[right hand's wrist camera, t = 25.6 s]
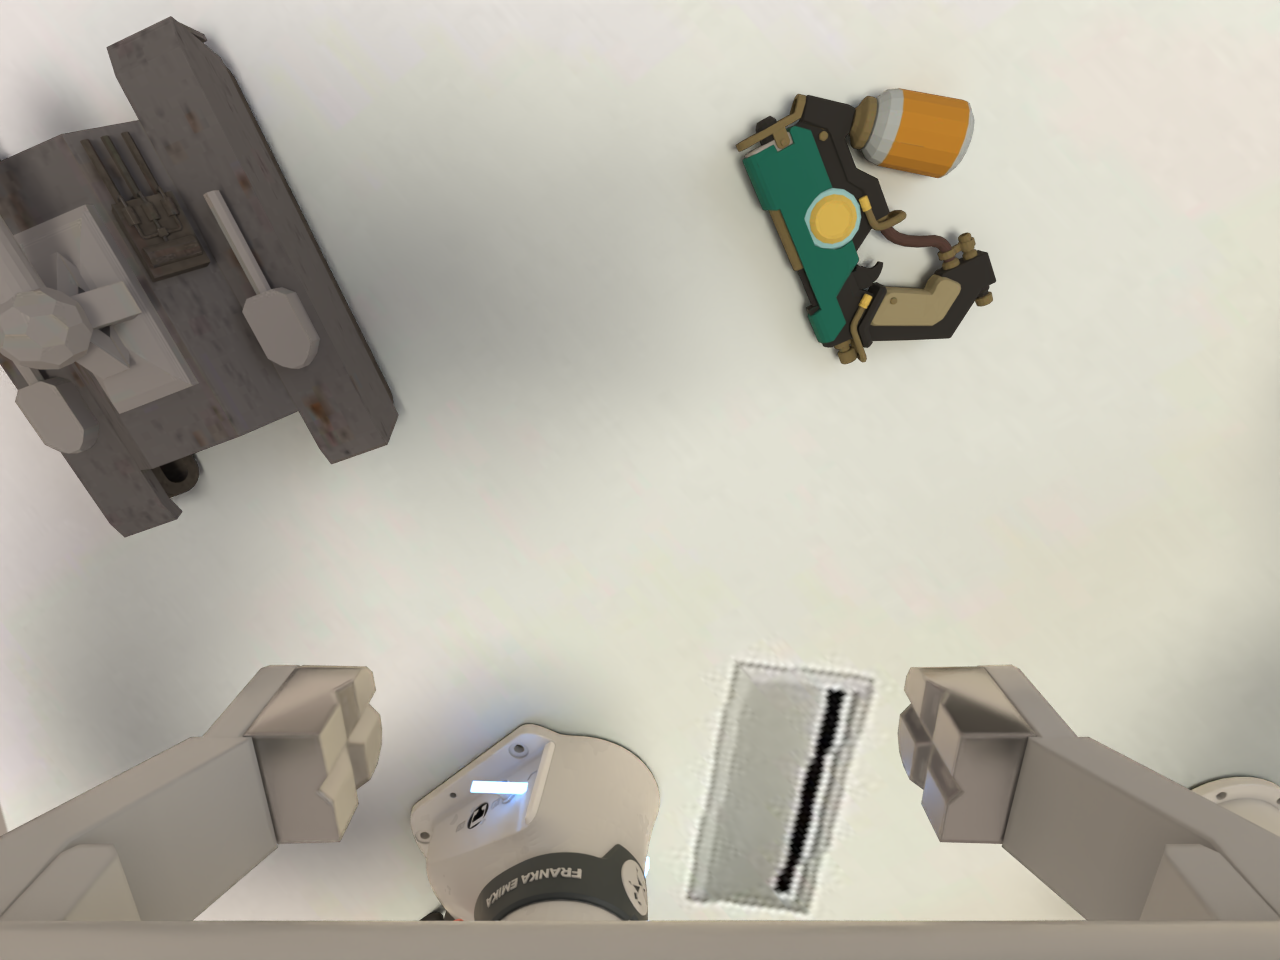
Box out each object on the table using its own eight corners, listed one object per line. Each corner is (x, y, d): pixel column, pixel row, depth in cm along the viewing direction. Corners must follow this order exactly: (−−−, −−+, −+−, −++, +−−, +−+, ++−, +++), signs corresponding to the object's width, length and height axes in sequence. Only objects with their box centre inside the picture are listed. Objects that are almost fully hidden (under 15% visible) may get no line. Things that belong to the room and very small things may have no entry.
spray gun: (978, 328, 48) (763, 369, 50) (977, 54, 41) (728, 112, 43) (1006, 342, 44) (772, 387, 46) (1010, 43, 38) (735, 107, 39)
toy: (411, 423, 50) (322, 503, 36) (171, 510, 52) (-2, 617, 38) (221, 37, 41) (7, -57, 27) (-55, 162, 44) (-383, 134, 30)
